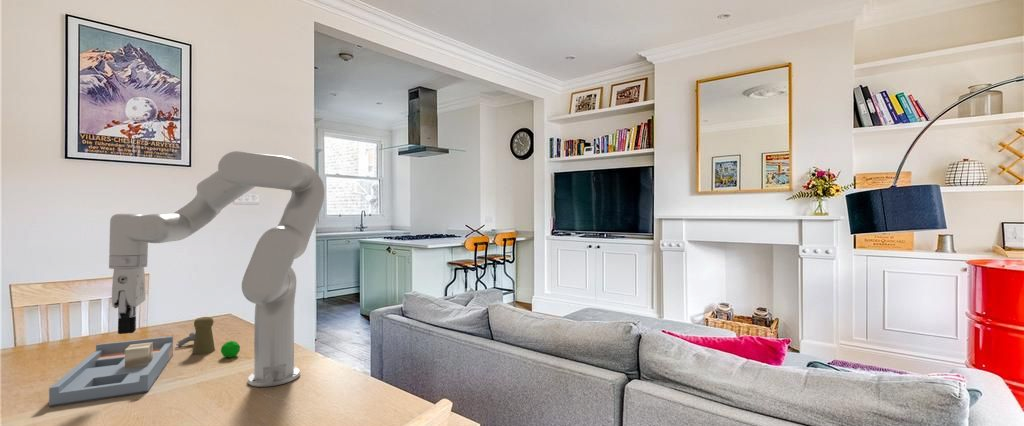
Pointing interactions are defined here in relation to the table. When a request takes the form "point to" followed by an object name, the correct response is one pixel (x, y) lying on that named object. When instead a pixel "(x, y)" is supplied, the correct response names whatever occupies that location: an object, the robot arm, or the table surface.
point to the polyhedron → (230, 349)
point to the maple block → (138, 355)
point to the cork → (203, 336)
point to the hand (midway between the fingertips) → (126, 332)
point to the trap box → (110, 373)
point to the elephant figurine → (186, 339)
